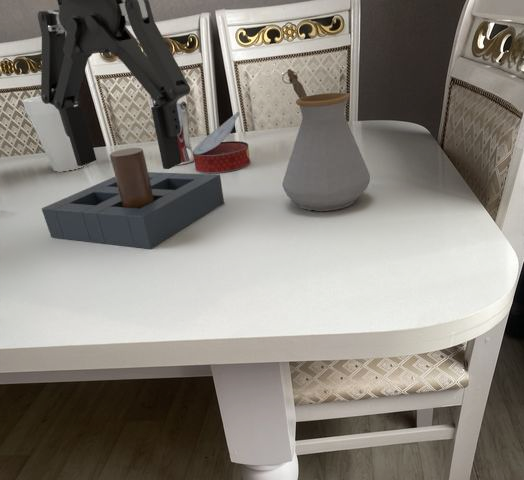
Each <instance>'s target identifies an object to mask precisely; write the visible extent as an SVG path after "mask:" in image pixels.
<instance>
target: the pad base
mask: <svg viewBox="0 0 524 480" xmlns="http://www.w3.org/2000/svg"><path fill="white" fill-rule="evenodd" d="M148 175H149V179H150V184H151V188H152V193H153V197H154V202H152V203H150V204H148V205H146V206H144V207H142V208H140V209H138V208H124V207H123V205H122V201H121V197H120V193H119V190H118V186H117V182H116V178H115V176H112V177H110V178H108V179H106V180H103V181H101V182H98V183H96V184H93V185H92V186H90V187H88V188H85V189H83V190H81V191H78V192H76V193H74V194H71V195H69V196H67V197H64V198H62V199H60V200H57V201H55V202H53V203H50V204H48V205H46V206H44V207H42V208H41V211H42V215H43V218H44V221H45V223H46V225H47V229H48V232H49V234H50V237H51V238H53V239H63V240H72V241H79V242H88V243H89V242H90V243H97V244H104V245H105V244H106V245H112V246H113V245H114V246H122V247H130V248H139V249H147V250H148V249H149V250H152V249H153V248H155V247H156V246H158V245H160V244H161V243H163V242H164V241H166V240H167V239H169V238H171V237H172V236H175V234H177V233H179V232H180V231H182V230H183V229H185V228H186V227H188V226H190V225H191V224H193V223H195V222H196V221H198V220H199V219H201V218H203V217H204V216H206V215H207V214H208V213H210V212H212V211H214V210H215V209H216V208H218V207H219V206H221V205H223V204H225V199H224V192H223V184H222V178H221V174H218V173H185V172H183V173H181V172H180V173H179V172H158V171H156V172H153V171H148Z"/></svg>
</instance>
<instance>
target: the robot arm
mask: <svg viewBox="0 0 524 480" xmlns="http://www.w3.org/2000/svg"><path fill="white" fill-rule="evenodd" d="M56 1H57V5H58V9H49V10H40V11H39V10H38V12H37V21H38V24H39V28H40V33H41V63H40V64H41V67H40V69H41V71H40V72H41V73H40V75H41V76H40V79H41V80H40V84H41V85H40V96H41V99H42V101H43V102H44V103H45V104H48V103H50V104H52V105H54V106H55V107H56V108H57V109H58V110H59V113H60V116H61V120H62V123H63V126H64V130H65V133H66V135H67V136H68V137H69V138H70V141H71V145H72V148H73V152H74V155H75V159H76V162H77V165H78V166H83V165H85V166H86V165H88V164H90V163H93V162H96V161H97V155H96V152H95V148H94V144H93V141H92V138H91V137H92V136H91V132H90V130H89V126H88V122H87V119H86V115H85V111H84V108H83V105H79V104H80V101H79V100H78V96H79V93H80V90H81V85H82V83H83V82H82V81H83V78H84V75H85V72H86V68H87V65H88V61H89V58H90V57H91V56H92V55H94V54H107V53H111V54H112V55H113V56H115V57H116V58H118V59H119V60H120V61H121V62H122V64H123V65H124V66H125V67H126V69H128V71H129V72H130V74H132V76H133V77H134V78H135V80H136V81H138V83H139V84H140V85H141V87H142V88H143V89H144V90H145V92H146V91H147V92H148V93H149V95H150V96H151V97H152V98H153V99H154V101H155V105H153V106H154V107H151V110H152V114H151V116H152V115H153V117H152V120H153V125H154V130H155V135H156V140H157V145H158V150H159V154H160V158H161V164H162V169H163V170H170V169H172V168H174V167H176V166H179V165H178V164H180V163H182V159H181V154H180V148H179V143H178V137H177V135H178V134H180V132H181V127H180V121H179V116H178V110H177V101H178V100H179V99H180V98H182V97H183V96H185V95H187V96H188V95H190V93H191V87H190V84H189V83H188V80H187V79H186V77H185V76H184V73H183V72H182V70H181V68H180V66H179V64H178V62H177V61H176V58H175V57H174V56H173V53H172V52H171V49H170V48H169V46H168V44H167V42H166V40H165V39H164V37H163V35H162V33H161V31H160V29H159V27H158V26H157V24H156V22H155V19H154V15H153V11H152V8H151V3H150V0H56ZM127 23H129V25H130V28H131V30H132V32H133V34H132V32H131V31H130V30H129V29H128V27H127V26H126V25H127ZM139 45H140V46H141V47H140V46H139ZM141 48H142V49H141ZM147 92H146V93H147ZM76 102H77V103H76ZM74 105H78V106H75V107H74Z"/></svg>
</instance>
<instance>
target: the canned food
mask: <svg viewBox="0 0 524 480" xmlns="http://www.w3.org/2000/svg"><path fill="white" fill-rule="evenodd" d="M239 116H240V112H239V111H236V112H235V114H233V115H232V116H231V117H230V118H228V119H227V120H225V121H224V122H223V123H222V124H221V125H219V127H217V128H216V129H214V130H213V131H212V132H211V133H209V134H208V135H206V137H205V138H204V139H203V140H201V141H200V142H199V143H198V144H197V145H196V147H194V149H192V150H193V156H194V161H193V162H194V167H195V171H196V172H197V173H200V174H222V173H223V174H224V173H230V172H235V171H238V170H242V169H244V168H246V167H247V166H249V165H250V164H251V156H250V148H249V143H248V142H245V141H240V140H238V141H237V140H230V141H228V140H227V141H225V140H226V139H227V138H228V136H229V135H230V134H231V132H232V131H233V129H234V127H235V124H236V122H237V121H236V120H237V118H238V117H239Z"/></svg>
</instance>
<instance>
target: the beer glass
mask: <svg viewBox="0 0 524 480" xmlns="http://www.w3.org/2000/svg"><path fill="white" fill-rule="evenodd" d="M145 92H146V97H147V98H146V99H147V103H148V107H149V111H150V114H151V118H153V115H152V110H151V107H154V106H153V105H155V101H154V99H153V98H152V97H151V96H150V95H149V93H148V92H147V91H146V90H145ZM177 110H178V116H179V121H180V127H181V132H180V134H178V135H177V137H178V143H179V148H180V154H181V159H182V163H180V164H178V165H177V166H181V165H187V164H190V163H192V162H194V156H193V150H194V149H193V148H192V144H191V139H190V119H189V112H190V111H189V102H188V95H185V96H183V97H182V98H180V99H179V100H178V101H177Z"/></svg>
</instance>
